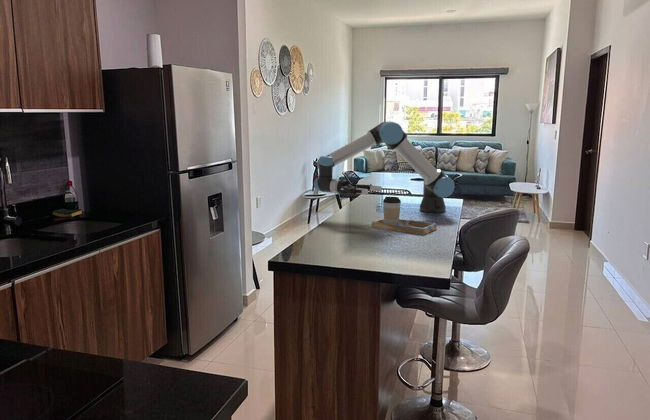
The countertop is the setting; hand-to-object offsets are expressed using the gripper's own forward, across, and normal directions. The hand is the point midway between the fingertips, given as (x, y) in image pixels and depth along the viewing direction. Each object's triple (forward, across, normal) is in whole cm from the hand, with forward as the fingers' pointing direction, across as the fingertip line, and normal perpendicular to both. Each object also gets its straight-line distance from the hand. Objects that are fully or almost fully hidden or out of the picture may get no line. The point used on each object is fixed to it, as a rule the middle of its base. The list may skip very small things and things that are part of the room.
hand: (374, 190), depth 247 cm
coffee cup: (+10, 0, -17) cm, 20 cm away
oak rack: (+17, 0, -17) cm, 24 cm away
